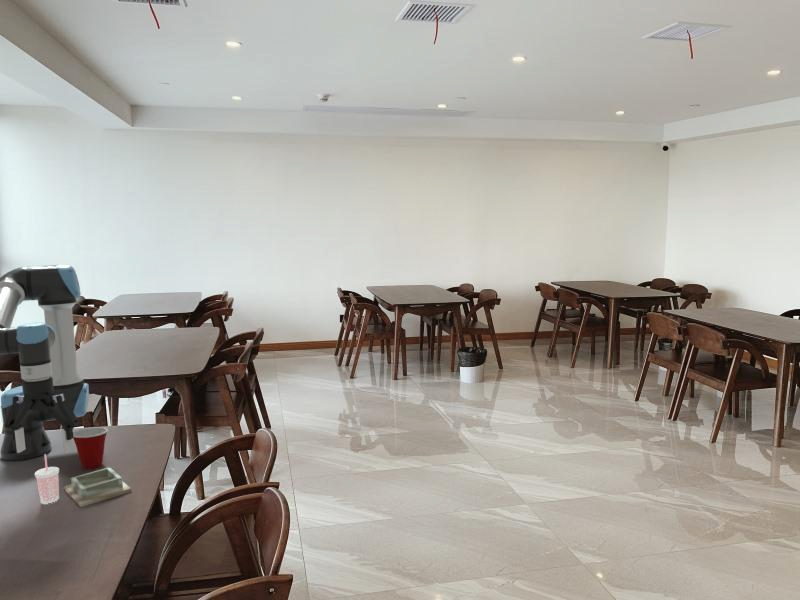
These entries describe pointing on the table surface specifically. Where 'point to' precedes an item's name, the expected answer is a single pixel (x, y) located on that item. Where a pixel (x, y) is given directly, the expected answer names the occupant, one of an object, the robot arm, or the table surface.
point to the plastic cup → (90, 446)
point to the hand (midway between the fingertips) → (44, 450)
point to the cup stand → (96, 486)
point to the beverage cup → (48, 483)
